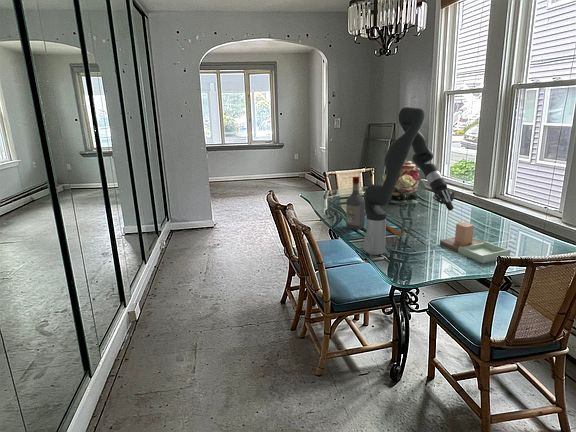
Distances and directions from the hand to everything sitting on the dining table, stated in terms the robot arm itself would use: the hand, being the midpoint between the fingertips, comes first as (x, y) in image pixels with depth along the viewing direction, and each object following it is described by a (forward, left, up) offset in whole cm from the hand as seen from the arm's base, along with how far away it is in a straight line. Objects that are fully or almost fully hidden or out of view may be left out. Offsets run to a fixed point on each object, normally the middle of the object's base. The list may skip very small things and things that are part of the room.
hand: (451, 209), depth 192 cm
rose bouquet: (+31, +81, -17) cm, 88 cm away
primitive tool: (-16, +28, -18) cm, 37 cm away
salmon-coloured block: (0, -9, -14) cm, 17 cm away
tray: (0, -22, -17) cm, 28 cm away
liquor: (-31, +42, -17) cm, 55 cm away
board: (0, -8, -17) cm, 19 cm away
